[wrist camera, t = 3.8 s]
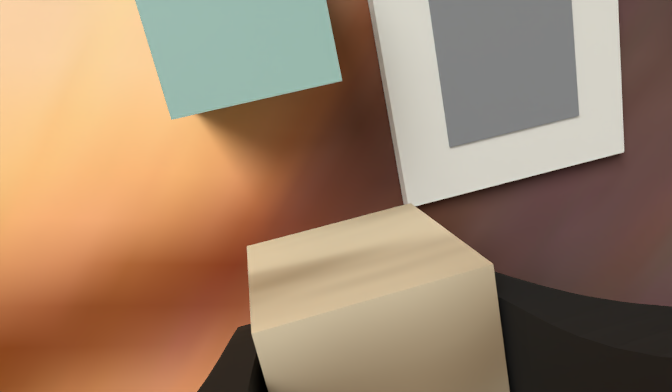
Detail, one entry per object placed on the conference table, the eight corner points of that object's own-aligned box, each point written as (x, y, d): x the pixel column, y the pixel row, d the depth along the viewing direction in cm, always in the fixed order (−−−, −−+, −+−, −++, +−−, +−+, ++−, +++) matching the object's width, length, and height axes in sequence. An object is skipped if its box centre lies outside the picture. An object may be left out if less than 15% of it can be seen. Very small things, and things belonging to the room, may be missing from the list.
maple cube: (435, 346, 14) (518, 459, 10) (287, 391, 14) (308, 532, 10) (410, 203, 13) (493, 263, 9) (246, 246, 13) (251, 334, 8)
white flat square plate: (613, 149, 20) (625, 152, 19) (403, 203, 19) (409, 208, 18) (601, -95, 17) (615, -102, 17) (359, -49, 16) (364, -54, 16)
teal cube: (317, 78, 17) (342, 80, 13) (189, 107, 17) (171, 119, 12) (287, -61, 16) (304, -109, 12) (148, -35, 15) (112, -75, 11)
